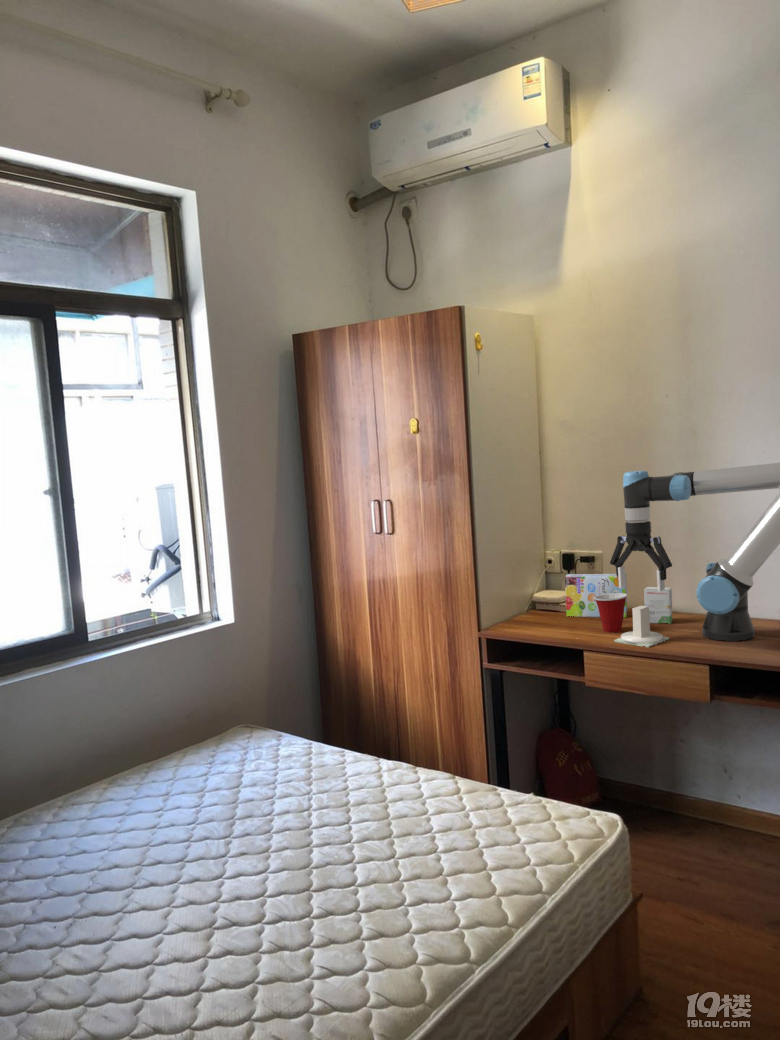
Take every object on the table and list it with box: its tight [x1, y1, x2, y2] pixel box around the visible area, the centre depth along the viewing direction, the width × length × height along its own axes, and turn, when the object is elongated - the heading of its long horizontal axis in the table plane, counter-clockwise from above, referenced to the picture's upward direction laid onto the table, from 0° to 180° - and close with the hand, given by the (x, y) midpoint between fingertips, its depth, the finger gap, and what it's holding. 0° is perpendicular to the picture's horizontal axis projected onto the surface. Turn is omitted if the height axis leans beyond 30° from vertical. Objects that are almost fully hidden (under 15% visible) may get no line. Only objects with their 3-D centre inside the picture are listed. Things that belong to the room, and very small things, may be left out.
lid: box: [620, 605, 664, 644], centre depth 255 cm, size 13×13×10 cm
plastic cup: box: [594, 593, 628, 633], centre depth 270 cm, size 11×11×12 cm
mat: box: [613, 636, 670, 648], centre depth 255 cm, size 12×12×1 cm
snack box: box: [564, 573, 629, 618], centre depth 293 cm, size 21×6×15 cm, turn 69°
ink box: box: [643, 586, 673, 625], centre depth 278 cm, size 9×5×12 cm, turn 63°
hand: (641, 588), depth 254 cm, fingers open, 13 cm apart
